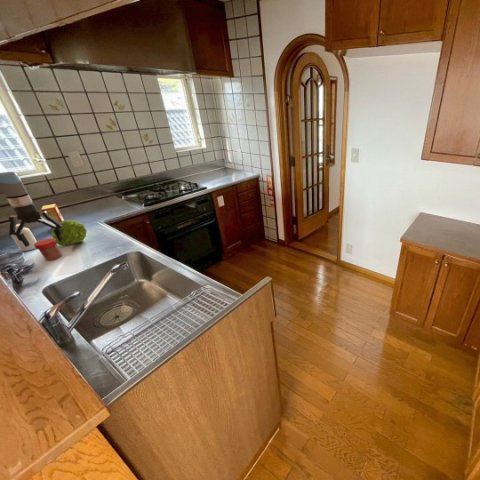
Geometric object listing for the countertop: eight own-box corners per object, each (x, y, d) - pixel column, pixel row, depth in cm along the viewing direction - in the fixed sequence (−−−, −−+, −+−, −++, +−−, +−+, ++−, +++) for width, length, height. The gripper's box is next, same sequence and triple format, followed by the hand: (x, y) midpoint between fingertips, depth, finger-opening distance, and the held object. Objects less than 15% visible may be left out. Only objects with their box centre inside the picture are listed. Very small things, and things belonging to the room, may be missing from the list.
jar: (44, 265, 138) (33, 247, 133) (50, 259, 144) (39, 241, 139) (61, 262, 141) (51, 244, 136) (66, 256, 147) (56, 238, 142)
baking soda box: (54, 226, 184) (42, 205, 176) (66, 224, 187) (55, 203, 180) (53, 231, 177) (40, 209, 170) (65, 228, 181) (54, 206, 173)
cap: (59, 240, 143) (57, 236, 142) (53, 247, 136) (51, 243, 135) (40, 243, 140) (38, 240, 139) (33, 250, 133) (30, 246, 132)
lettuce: (61, 245, 167) (93, 239, 176) (51, 248, 147) (87, 242, 155) (54, 222, 165) (87, 217, 173) (42, 222, 144) (80, 217, 153)
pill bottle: (36, 244, 161) (22, 221, 154) (42, 246, 158) (28, 223, 151) (18, 249, 155) (3, 227, 148) (24, 252, 152) (9, 229, 145)
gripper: (-18, 211, 120) (9, 251, 130) (52, 203, 129) (72, 240, 139) (-8, 206, 126) (16, 244, 136) (58, 198, 135) (76, 235, 145)
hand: (44, 242), depth 137 cm, fingers open, 13 cm apart
